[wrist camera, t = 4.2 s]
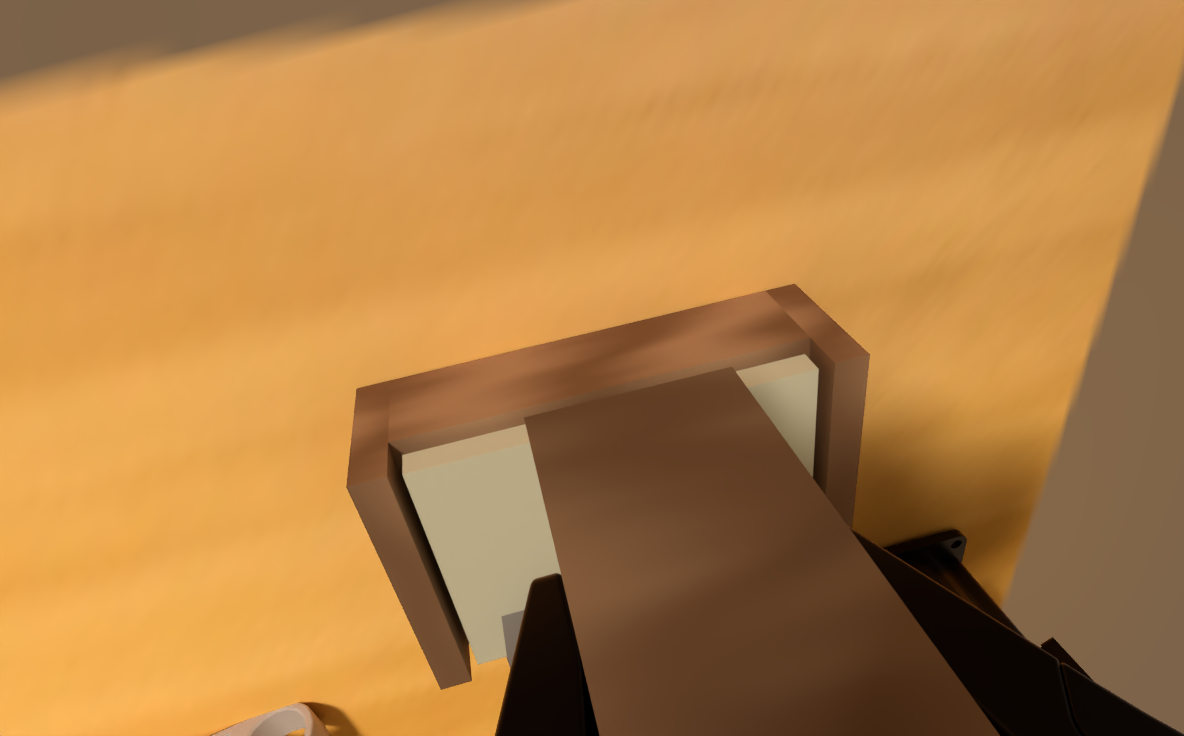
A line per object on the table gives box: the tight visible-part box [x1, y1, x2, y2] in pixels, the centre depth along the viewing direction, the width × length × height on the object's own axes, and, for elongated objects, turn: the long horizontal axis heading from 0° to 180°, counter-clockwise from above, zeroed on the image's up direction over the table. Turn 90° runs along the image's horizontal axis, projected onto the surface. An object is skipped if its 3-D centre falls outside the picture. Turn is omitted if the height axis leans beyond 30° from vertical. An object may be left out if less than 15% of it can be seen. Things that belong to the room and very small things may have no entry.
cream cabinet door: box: [402, 354, 819, 668], centre depth 20 cm, size 11×8×2 cm
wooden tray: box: [346, 284, 870, 690], centre depth 22 cm, size 14×9×4 cm, turn 98°
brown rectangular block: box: [524, 367, 1000, 736], centre depth 8 cm, size 3×3×7 cm
